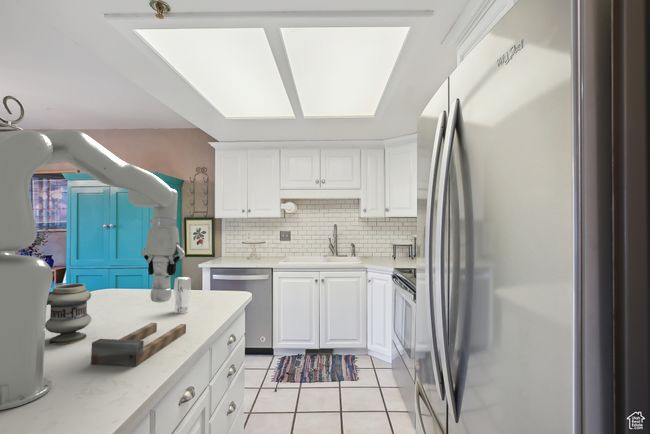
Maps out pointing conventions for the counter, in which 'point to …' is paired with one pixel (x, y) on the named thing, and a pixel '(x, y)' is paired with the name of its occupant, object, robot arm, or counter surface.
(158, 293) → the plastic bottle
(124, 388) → the counter surface
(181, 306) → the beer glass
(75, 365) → the counter surface
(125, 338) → the guide track
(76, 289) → the apothecary jar
